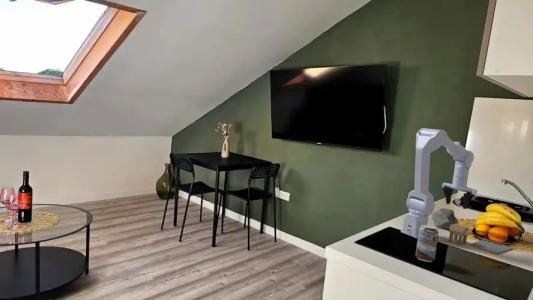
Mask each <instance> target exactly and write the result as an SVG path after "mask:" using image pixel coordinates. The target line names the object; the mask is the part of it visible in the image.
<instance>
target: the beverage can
mask: <svg viewBox="0 0 533 300" xmlns="http://www.w3.org/2000/svg"><path fill="white" fill-rule="evenodd" d="M438 239H439V229H438V227H437V226H432V225H428V224H427V225H422V226H421V227H420V229H419V235H418V238H417V241H416V248H415V249H416V250H415V257H416V258H417V260H420V261H422V262H427V263H432V262H433V261H435V260H436V259H435V258H436V253H437V245H438Z"/></svg>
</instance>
